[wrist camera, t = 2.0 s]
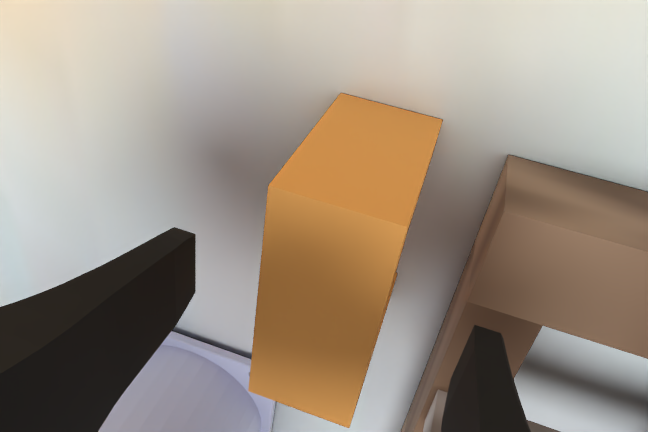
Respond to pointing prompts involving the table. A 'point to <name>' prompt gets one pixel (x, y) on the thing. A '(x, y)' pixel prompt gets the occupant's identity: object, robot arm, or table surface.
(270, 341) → the orange upright block
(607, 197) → the shelf
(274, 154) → the table surface
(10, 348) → the robot arm
